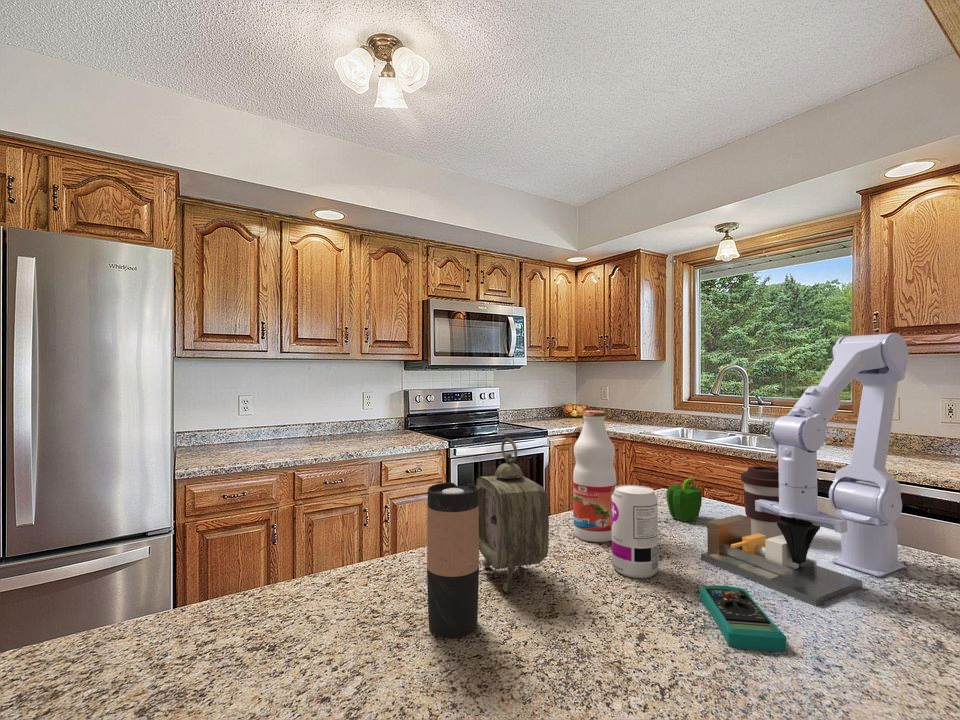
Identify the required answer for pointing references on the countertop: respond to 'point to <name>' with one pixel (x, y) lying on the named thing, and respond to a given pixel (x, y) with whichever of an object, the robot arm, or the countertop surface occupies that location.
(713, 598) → the digital multimeter
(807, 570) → the base
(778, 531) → the coffee cup
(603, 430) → the fruit juice
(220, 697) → the countertop surface
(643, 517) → the supplement can
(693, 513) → the bell pepper
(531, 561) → the tabletop clock
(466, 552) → the travel mug
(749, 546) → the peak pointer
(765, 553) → the cream block with peg
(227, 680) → the countertop surface
